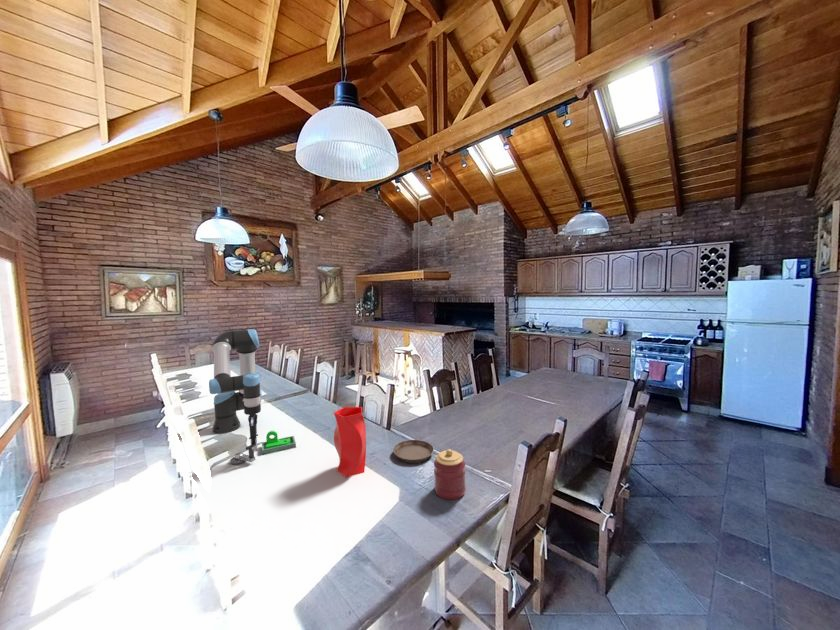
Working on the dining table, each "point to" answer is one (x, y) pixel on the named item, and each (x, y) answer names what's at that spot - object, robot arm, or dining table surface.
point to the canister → (449, 474)
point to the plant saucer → (413, 450)
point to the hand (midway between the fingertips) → (254, 449)
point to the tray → (279, 448)
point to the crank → (246, 457)
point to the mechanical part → (275, 440)
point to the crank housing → (236, 461)
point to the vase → (350, 440)
